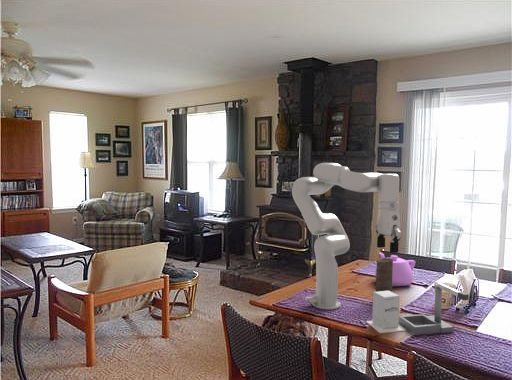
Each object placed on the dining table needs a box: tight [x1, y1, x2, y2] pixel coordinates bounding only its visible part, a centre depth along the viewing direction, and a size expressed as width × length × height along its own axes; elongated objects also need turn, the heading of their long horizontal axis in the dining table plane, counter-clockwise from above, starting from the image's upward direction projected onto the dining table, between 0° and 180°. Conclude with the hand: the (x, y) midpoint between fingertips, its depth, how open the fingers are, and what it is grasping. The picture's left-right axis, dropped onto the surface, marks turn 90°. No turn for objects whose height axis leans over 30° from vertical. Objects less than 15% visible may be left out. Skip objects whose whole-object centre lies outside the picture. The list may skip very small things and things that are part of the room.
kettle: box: [374, 252, 416, 288], centre depth 219 cm, size 23×21×15 cm
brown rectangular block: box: [375, 257, 393, 292], centre depth 188 cm, size 8×7×20 cm
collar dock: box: [399, 287, 455, 336], centre depth 158 cm, size 16×12×15 cm
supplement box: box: [371, 291, 401, 329], centre depth 159 cm, size 7×7×13 cm
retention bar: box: [433, 281, 470, 301], centre depth 152 cm, size 17×3×2 cm, turn 12°
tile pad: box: [366, 320, 407, 334], centre depth 159 cm, size 11×11×1 cm
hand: (387, 249), depth 157 cm, fingers open, 9 cm apart
